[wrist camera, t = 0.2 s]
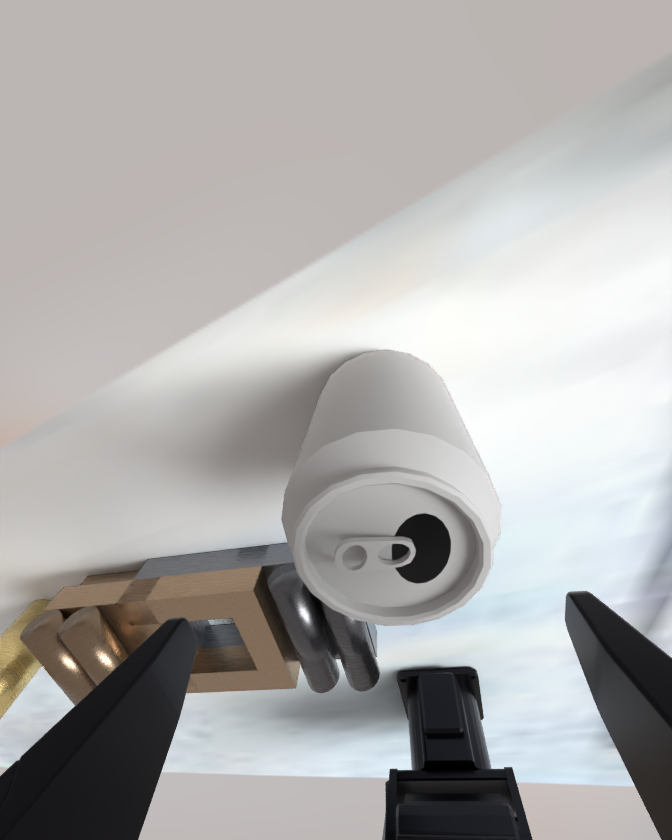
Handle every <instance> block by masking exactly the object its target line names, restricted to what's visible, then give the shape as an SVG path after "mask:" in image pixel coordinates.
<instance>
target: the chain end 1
mask: <svg viewBox="0 0 672 840" xmlns="http://www.w3.org/2000/svg"><path fill="white" fill-rule="evenodd" d="M139 571H140V570H139ZM139 571H130V572H122V573H113V574H104V575H95V576H88V577H87V578H86V579H85V580H84V581H83V582H82V584H81V585H80V586H73V587H63V589H62V590H61V591H60V592H59V593H58V594H57V595H56V596H55V597H54V598H53V600H52V601H51V602H50V603H49V604H48V605H47V606H46V607H45V608H44V610H43V612H44V613H43V614H41V615H39V616H38V617H36V618H35V619H34V620H32V621H31V622H30V623H29V624H28V625H27V626H26V627H25V628H24V630H23V631H22V633H21V635H20V639H21V641H22V642H23V643H24V644H25V646H26V647H27V648H28V649H29V650H30V652H31V653H32V654H33V655H34V657H35V658H36V659H37V660H38V661H39V663H40V664H41V665H42V666H43V667H44V669H45V670H46V671H47V672H48V673H49V675H50V676H51V677H52V678H53V680H54V681H55V682H56V683H57V684H58V686H59V687H60V688H61V689H62V690H63V692H64V693H65V694H66V695H67V696H68V698H69V699H70V700H71V701H72V703H73V704H74V705H75V706H76V705H77V704H78V703H79V702H80V701H81V700H82V699H83V698H84V697H85V696H86V695H88V694H89V693H90V692H91V691H92V690H93V689H94V688H95V687H96V686H97V685H98V684H99V683H100V682H101V681H102V680H104V679H105V678H106V677H107V676H108V675H109V674H110V673H111V672H112V671H113V670H114V669H115V668H116V667H117V666H118V665H120V664H121V663H122V662H123V661H124V660H125V659H126V658H127V657H128V656H129V655H130V654H131V653H132V652H133V651H134V650H136V649H137V648H138V647H139V646H140V645H141V644H142V643H143V642H144V641H145V640H146V639H147V638H148V637H149V636H150V635H152V634H153V633H154V632H155V631H156V630H157V629H158V628H159V627H160V626H161V625H162V624H163V623H164V622H165V621H167V620H168V619H170V618H175V617H185V618H186V619H187V620H188V621H198V620H210V619H222V618H233V620H234V622H235V624H236V626H237V628H238V630H239V632H240V635H241V637H242V639H243V641H244V643H245V645H243V646H229V647H214V648H200V647H199V645H198V643H197V651H196V655H195V659H194V663H193V667H192V671H191V675H190V679H189V683H188V687H187V691H186V693H202V692H224V691H246V690H268V689H290V688H296V685H297V680H298V674H299V669H300V662H299V660H298V657H297V655H296V652H295V650H294V647H293V645H292V643H291V640H290V638H289V635H288V633H287V631H286V628H285V626H284V623H283V621H282V618H281V616H280V614H279V611H278V609H277V606H276V604H275V602H274V599H273V597H272V594H271V592H270V589H269V587H268V580H267V578H266V575H265V573H264V571H263V568H262V566H258V567H249V568H240V569H230V570H221V571H212V572H203V573H193V574H184V575H175V576H165V577H156V578H147V579H138V580H133V579H134V578H135V576H136V575H137V574H138V572H139Z"/></svg>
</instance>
